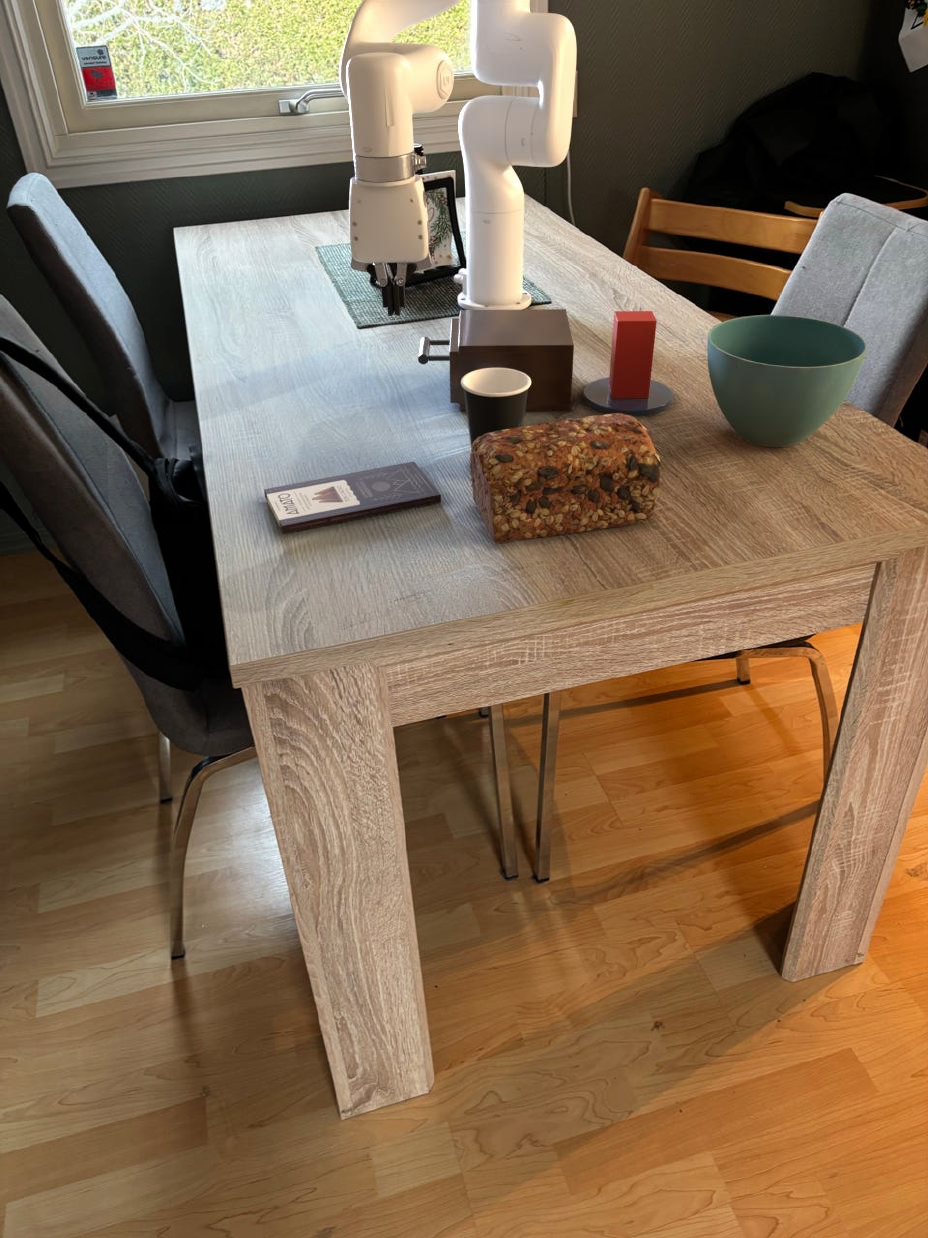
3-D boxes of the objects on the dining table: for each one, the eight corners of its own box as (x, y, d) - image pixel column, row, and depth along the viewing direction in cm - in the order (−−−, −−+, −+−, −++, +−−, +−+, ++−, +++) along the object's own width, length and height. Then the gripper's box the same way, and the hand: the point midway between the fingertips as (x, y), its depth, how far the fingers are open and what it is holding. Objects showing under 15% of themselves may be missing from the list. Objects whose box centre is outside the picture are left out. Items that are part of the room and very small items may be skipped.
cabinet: (459, 411, 130) (458, 345, 125) (461, 371, 142) (460, 309, 137) (570, 410, 130) (574, 344, 125) (562, 370, 142) (565, 308, 136)
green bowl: (762, 478, 113) (781, 377, 106) (666, 422, 126) (677, 328, 119) (876, 446, 120) (901, 348, 113) (774, 395, 133) (790, 305, 126)
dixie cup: (536, 479, 114) (539, 389, 107) (470, 487, 112) (469, 397, 106) (518, 450, 120) (520, 364, 114) (455, 457, 119) (454, 370, 112)
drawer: (418, 403, 130) (416, 351, 126) (422, 367, 141) (420, 318, 137) (552, 402, 130) (554, 350, 126) (546, 366, 141) (548, 317, 137)
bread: (624, 482, 113) (632, 400, 107) (659, 527, 104) (669, 441, 99) (467, 500, 110) (466, 417, 104) (490, 548, 101) (490, 460, 96)
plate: (565, 398, 133) (565, 392, 133) (620, 374, 140) (620, 369, 140) (635, 423, 126) (636, 418, 126) (690, 397, 133) (690, 392, 133)
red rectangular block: (611, 398, 131) (617, 320, 125) (608, 387, 134) (614, 310, 128) (648, 398, 131) (656, 320, 125) (644, 386, 134) (652, 310, 128)
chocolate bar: (440, 494, 109) (281, 525, 104) (441, 501, 109) (283, 533, 104) (414, 461, 116) (263, 489, 110) (414, 468, 116) (265, 496, 111)
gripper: (445, 158, 125) (450, 301, 136) (328, 161, 125) (343, 304, 136) (443, 172, 119) (448, 321, 130) (321, 175, 119) (336, 323, 130)
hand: (394, 312), depth 133 cm, fingers closed
